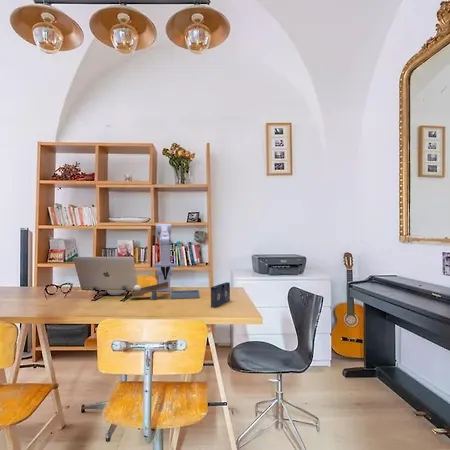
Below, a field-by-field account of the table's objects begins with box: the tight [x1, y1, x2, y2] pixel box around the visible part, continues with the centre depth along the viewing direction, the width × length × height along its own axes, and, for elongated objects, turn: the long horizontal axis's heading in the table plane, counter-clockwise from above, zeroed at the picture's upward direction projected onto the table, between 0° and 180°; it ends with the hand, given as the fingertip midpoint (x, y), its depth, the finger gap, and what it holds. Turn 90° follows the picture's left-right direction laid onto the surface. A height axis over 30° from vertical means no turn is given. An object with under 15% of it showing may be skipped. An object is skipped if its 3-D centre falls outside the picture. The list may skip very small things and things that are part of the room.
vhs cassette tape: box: [210, 281, 231, 309], centre depth 178 cm, size 18×3×10 cm, turn 154°
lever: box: [130, 282, 169, 297], centre depth 197 cm, size 15×20×3 cm
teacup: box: [106, 290, 125, 296], centre depth 206 cm, size 14×11×8 cm
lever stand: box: [149, 289, 159, 301], centre depth 194 cm, size 11×4×6 cm, turn 8°
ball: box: [132, 284, 142, 291], centre depth 192 cm, size 4×4×4 cm
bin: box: [169, 287, 200, 300], centre depth 196 cm, size 9×16×4 cm, turn 98°
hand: (165, 279), depth 204 cm, fingers closed
